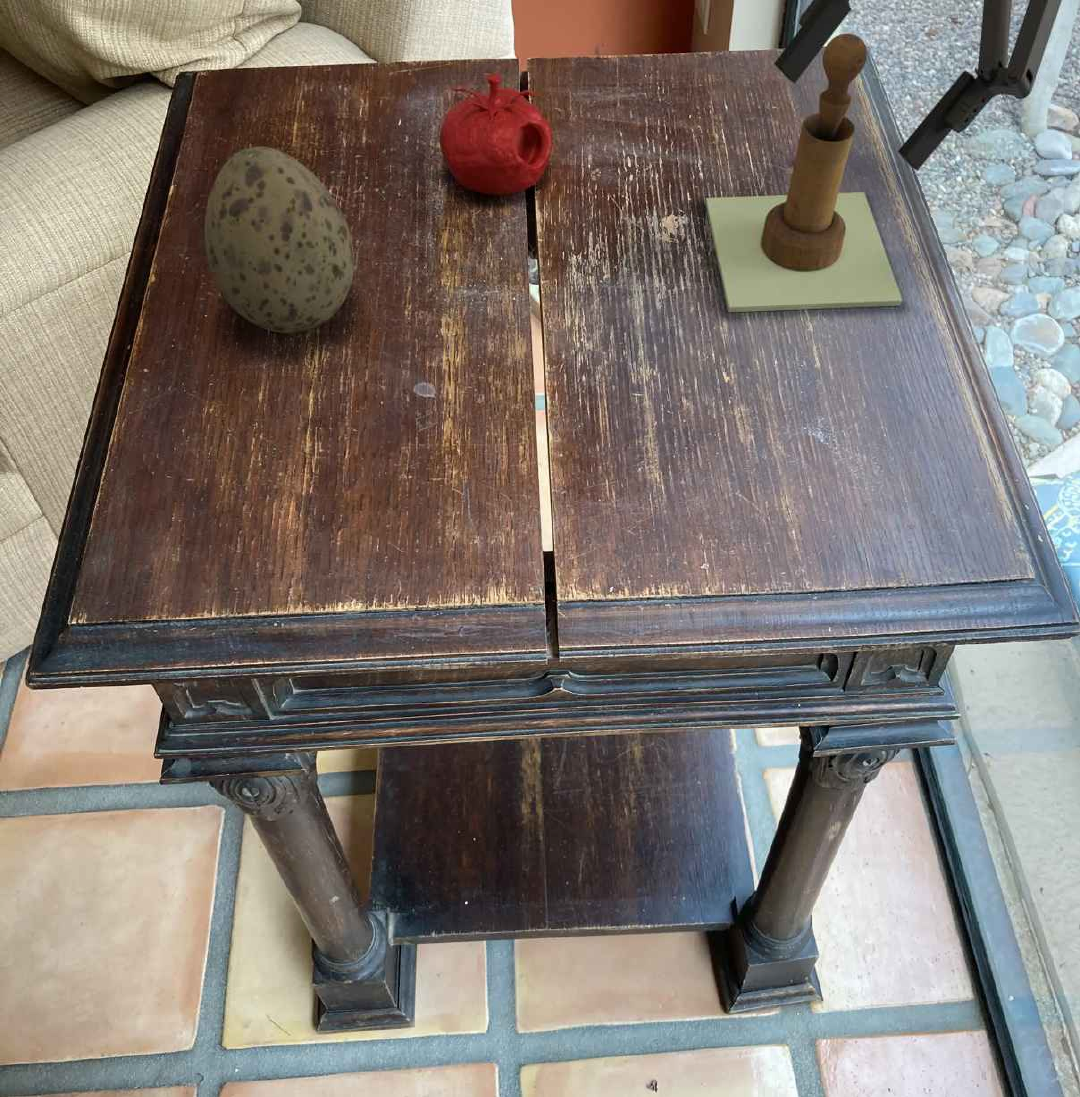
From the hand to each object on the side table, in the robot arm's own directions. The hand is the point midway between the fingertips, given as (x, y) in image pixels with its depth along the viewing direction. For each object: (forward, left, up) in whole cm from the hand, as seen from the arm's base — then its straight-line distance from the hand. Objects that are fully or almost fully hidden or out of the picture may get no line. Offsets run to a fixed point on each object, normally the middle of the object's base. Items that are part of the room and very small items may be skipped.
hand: (842, 116), depth 79 cm
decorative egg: (+23, +37, -12) cm, 45 cm away
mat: (0, +1, -12) cm, 12 cm away
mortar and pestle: (0, +1, -12) cm, 12 cm away
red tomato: (+26, +13, -12) cm, 31 cm away
